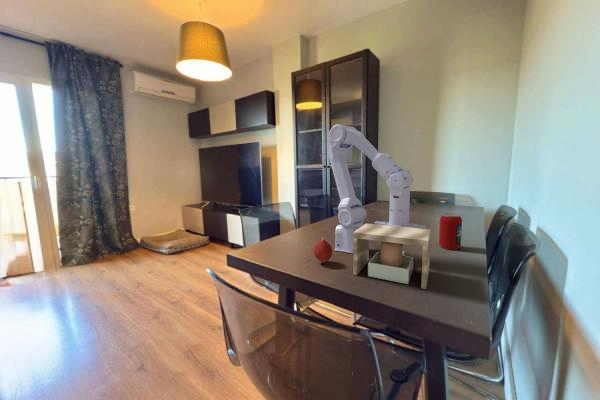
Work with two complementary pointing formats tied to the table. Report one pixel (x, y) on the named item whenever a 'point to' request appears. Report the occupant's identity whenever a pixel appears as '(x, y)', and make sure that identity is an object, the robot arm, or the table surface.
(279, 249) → the table surface
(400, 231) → the shelf
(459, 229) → the beverage can
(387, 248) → the pink-tan solid cylinder
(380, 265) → the tray
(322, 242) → the onion
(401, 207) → the robot arm
